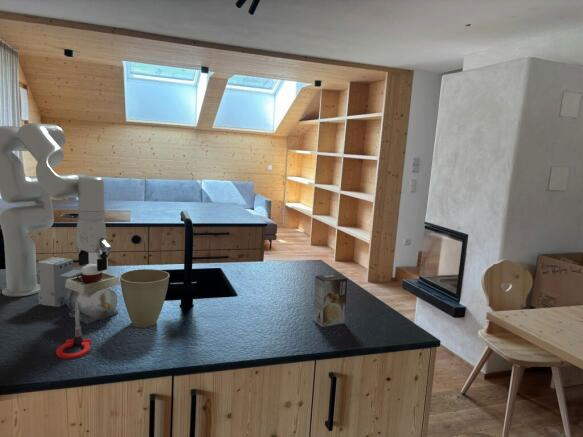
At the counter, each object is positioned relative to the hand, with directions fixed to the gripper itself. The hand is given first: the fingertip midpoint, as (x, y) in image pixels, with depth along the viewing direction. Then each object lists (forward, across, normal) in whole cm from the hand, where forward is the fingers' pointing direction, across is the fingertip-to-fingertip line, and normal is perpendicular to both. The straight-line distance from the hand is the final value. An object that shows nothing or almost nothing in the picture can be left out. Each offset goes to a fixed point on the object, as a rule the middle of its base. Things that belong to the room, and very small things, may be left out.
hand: (92, 267), depth 142 cm
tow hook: (+17, +18, -18) cm, 30 cm away
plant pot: (+16, +18, +6) cm, 25 cm away
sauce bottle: (+16, -32, +23) cm, 43 cm away
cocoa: (+5, 0, 0) cm, 5 cm away
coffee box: (+16, +64, +45) cm, 80 cm away
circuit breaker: (+16, -17, 0) cm, 24 cm away
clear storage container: (+16, 0, 0) cm, 16 cm away
